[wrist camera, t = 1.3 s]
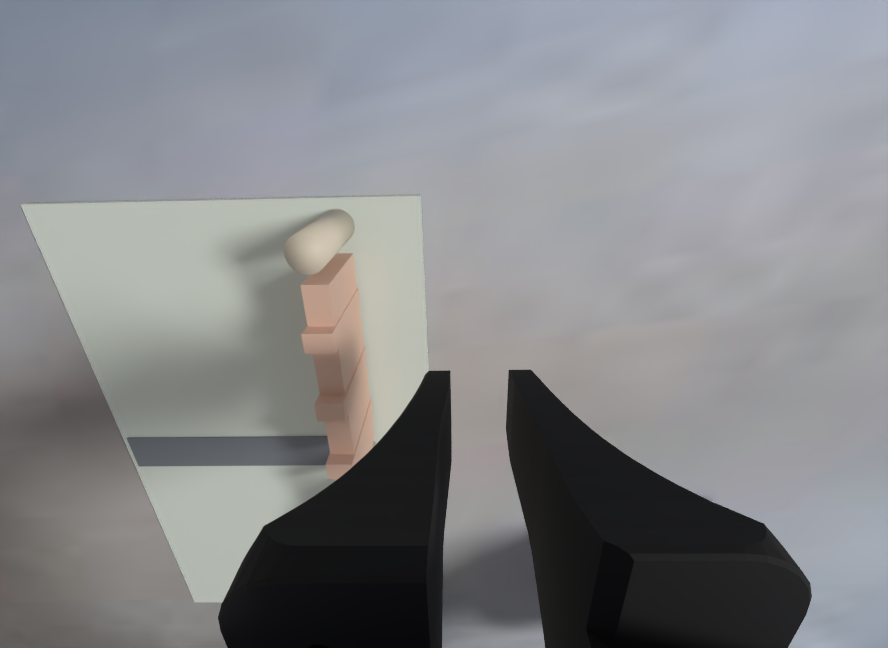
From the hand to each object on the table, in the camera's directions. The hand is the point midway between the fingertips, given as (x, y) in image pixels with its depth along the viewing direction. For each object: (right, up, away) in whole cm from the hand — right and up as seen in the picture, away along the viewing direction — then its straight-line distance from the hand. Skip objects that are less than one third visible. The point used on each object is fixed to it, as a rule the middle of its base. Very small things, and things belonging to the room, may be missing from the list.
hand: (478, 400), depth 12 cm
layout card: (-10, -5, +12) cm, 16 cm away
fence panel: (-5, +2, +8) cm, 10 cm away
